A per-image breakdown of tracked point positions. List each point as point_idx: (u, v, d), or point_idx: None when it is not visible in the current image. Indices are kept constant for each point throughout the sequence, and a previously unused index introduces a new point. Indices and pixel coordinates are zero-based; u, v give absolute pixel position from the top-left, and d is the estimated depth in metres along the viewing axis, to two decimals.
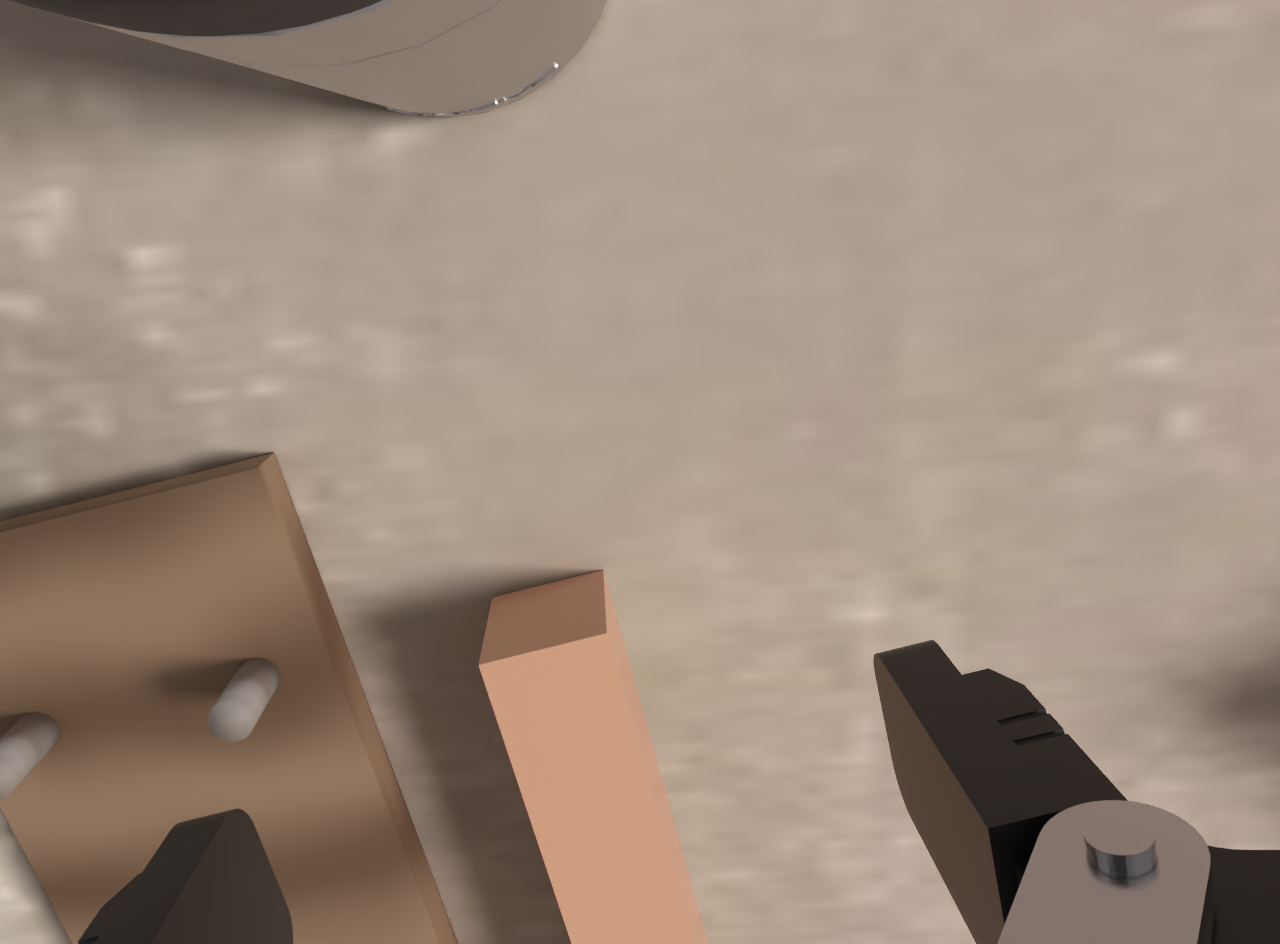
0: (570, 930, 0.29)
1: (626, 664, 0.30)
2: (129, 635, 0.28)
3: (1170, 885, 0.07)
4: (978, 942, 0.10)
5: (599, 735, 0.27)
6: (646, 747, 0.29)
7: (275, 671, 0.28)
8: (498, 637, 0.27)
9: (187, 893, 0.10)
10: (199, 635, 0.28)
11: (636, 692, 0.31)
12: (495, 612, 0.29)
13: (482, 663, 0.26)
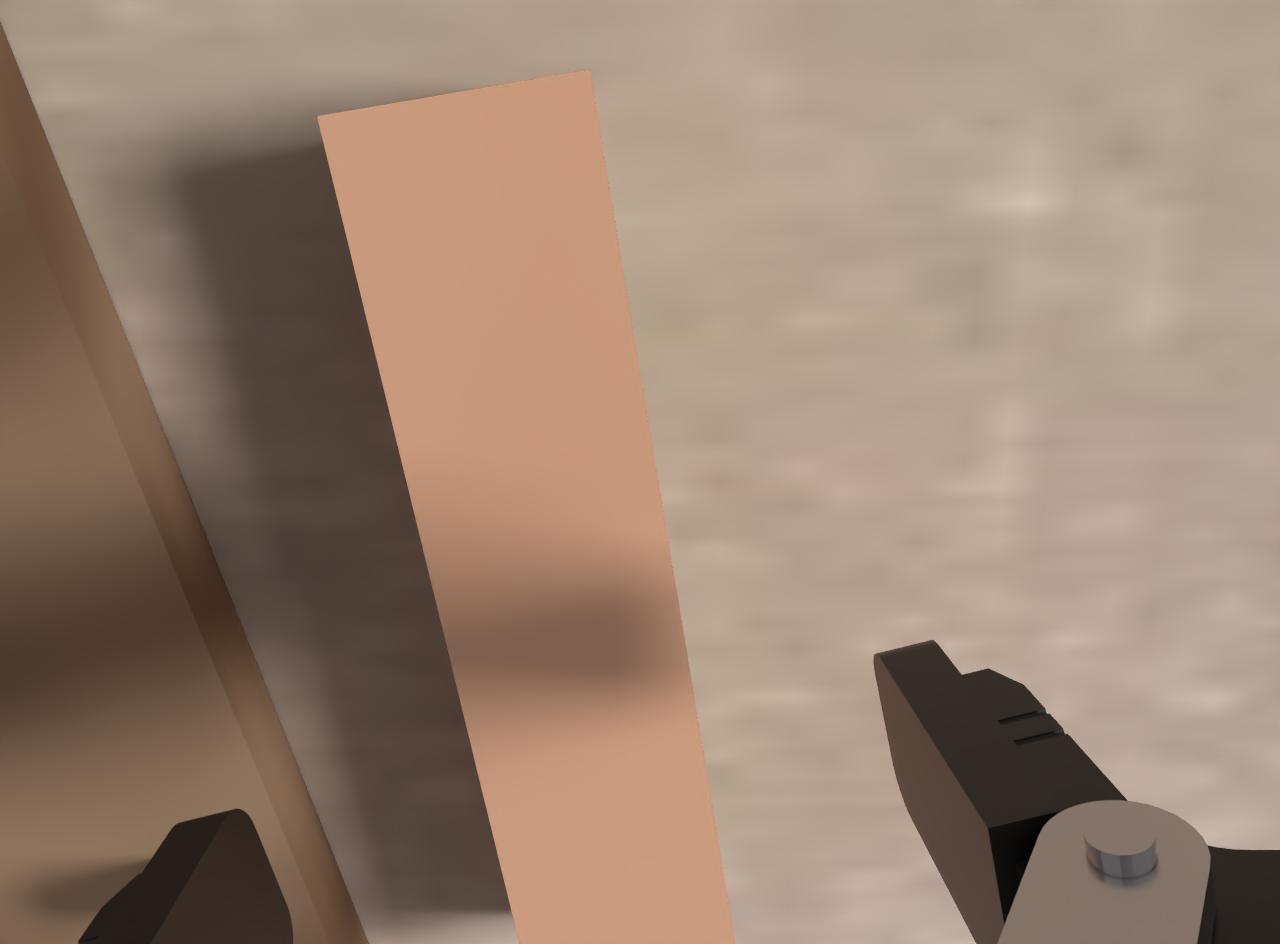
0: (474, 732, 0.15)
1: None
2: None
3: (1170, 885, 0.07)
4: (978, 942, 0.10)
5: (558, 312, 0.13)
6: None
7: None
8: None
9: (187, 893, 0.10)
10: None
11: None
12: None
13: None
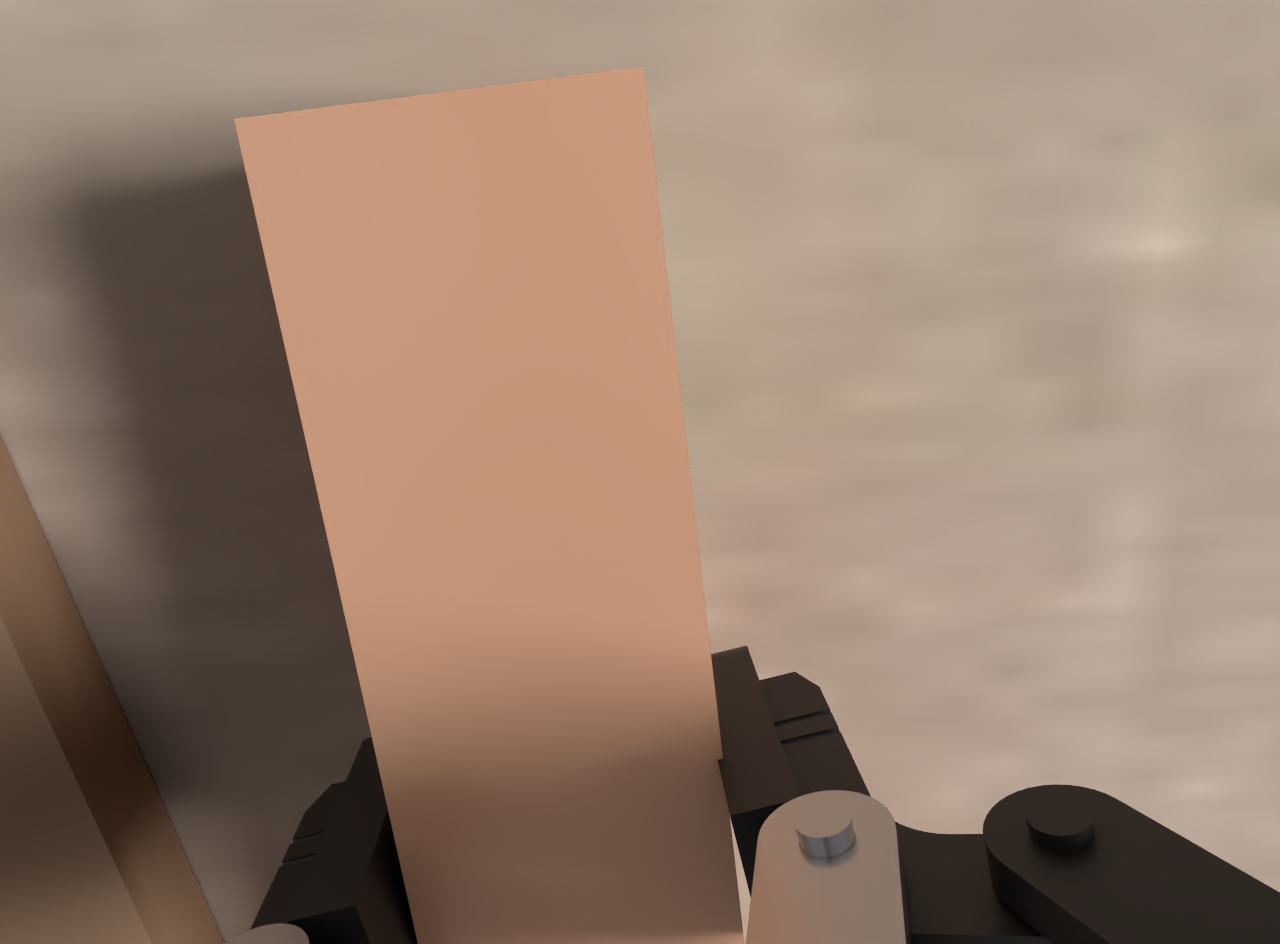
0: None
1: None
2: None
3: (853, 864, 0.08)
4: None
5: (580, 415, 0.09)
6: None
7: None
8: None
9: None
10: None
11: None
12: None
13: (248, 117, 0.08)
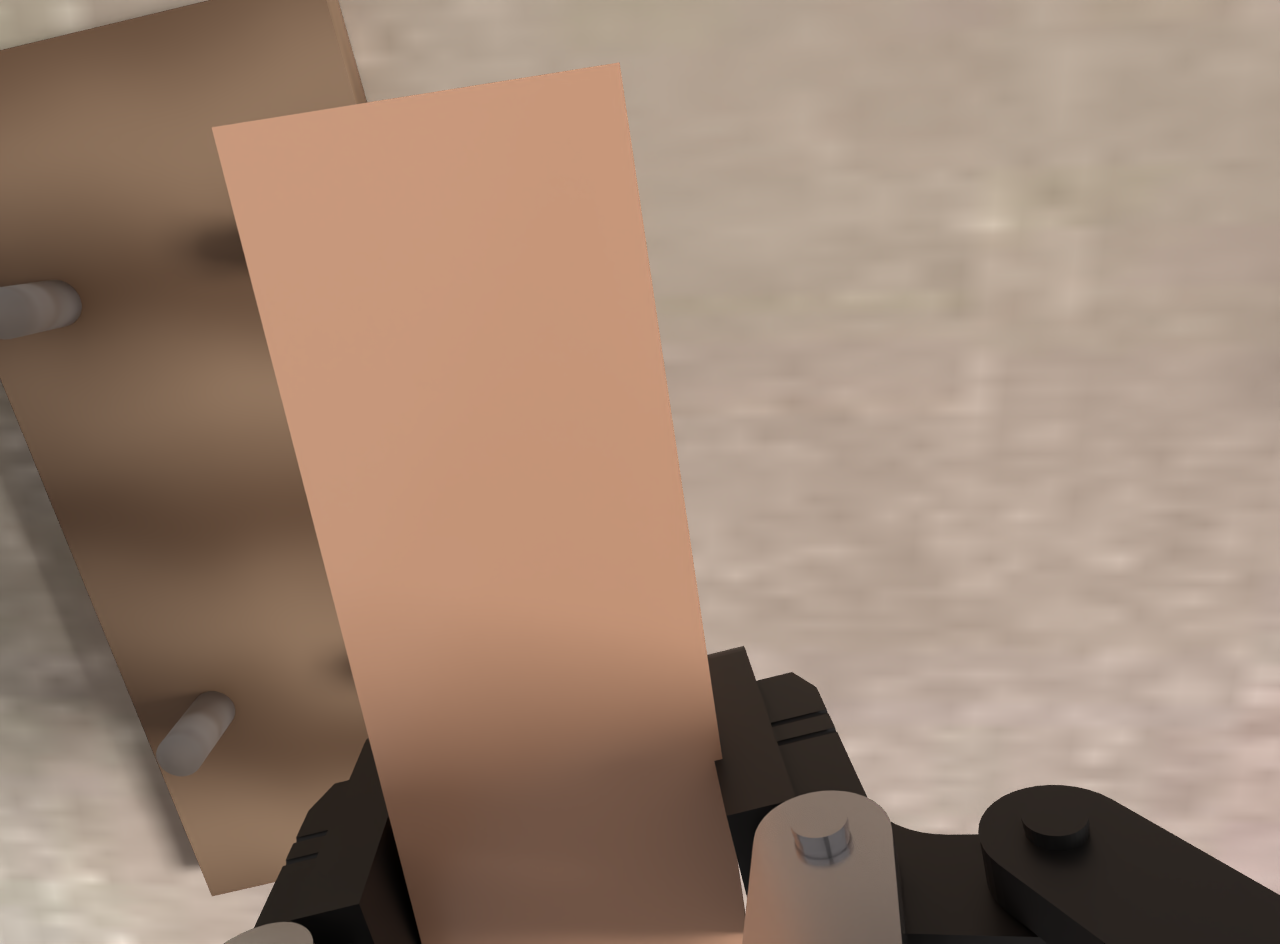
0: None
1: None
2: (164, 185, 0.25)
3: (849, 863, 0.08)
4: None
5: (567, 414, 0.09)
6: None
7: None
8: None
9: None
10: None
11: None
12: None
13: (225, 125, 0.08)
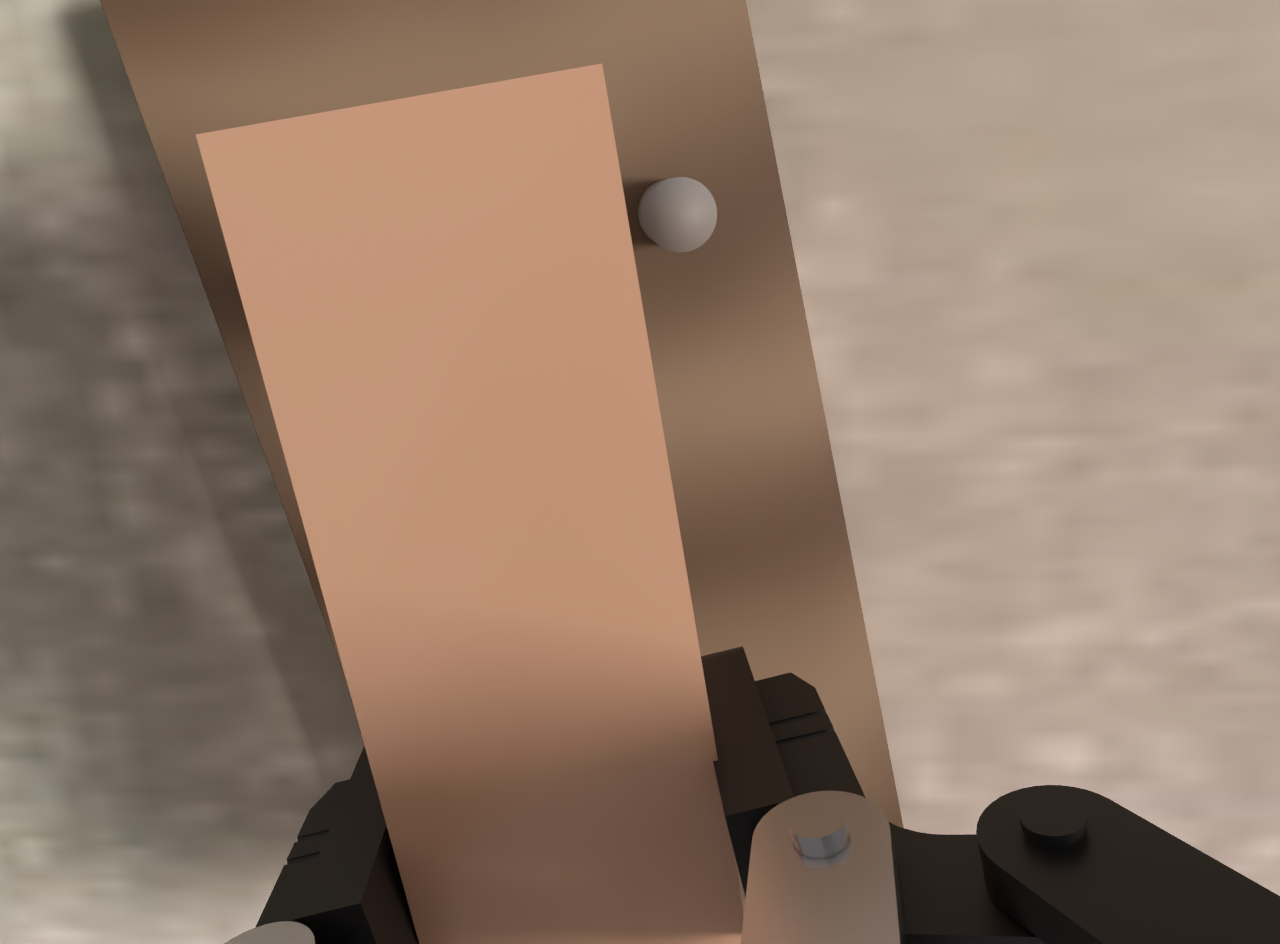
0: None
1: None
2: None
3: (846, 864, 0.08)
4: None
5: (555, 415, 0.09)
6: None
7: None
8: None
9: None
10: None
11: None
12: None
13: (209, 132, 0.08)
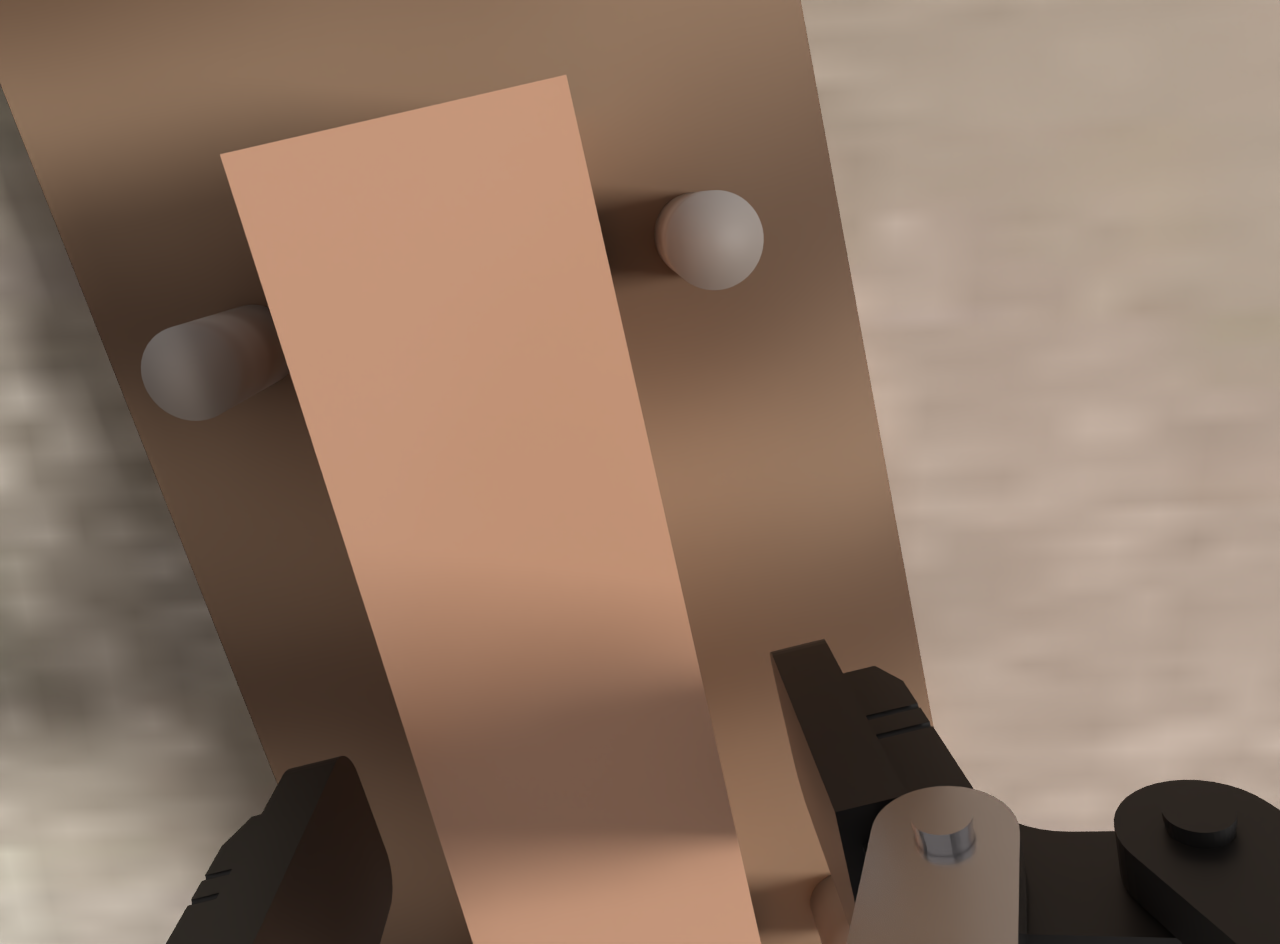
0: (468, 904, 0.12)
1: None
2: None
3: (978, 862, 0.08)
4: (848, 921, 0.10)
5: (543, 384, 0.10)
6: None
7: None
8: None
9: (310, 829, 0.11)
10: (589, 137, 0.14)
11: None
12: None
13: (231, 152, 0.10)
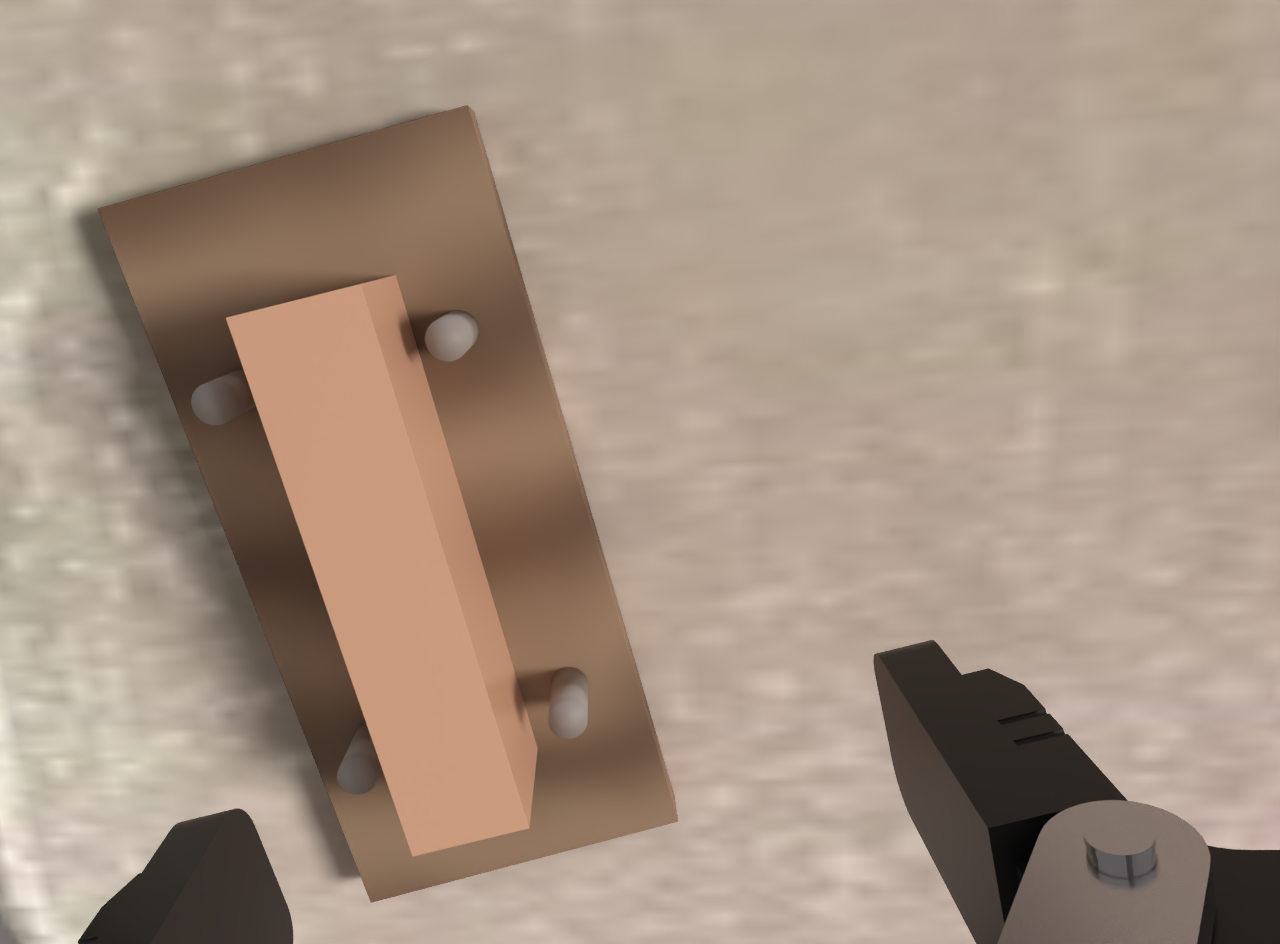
0: (341, 639, 0.27)
1: (414, 370, 0.28)
2: (336, 286, 0.29)
3: (1170, 885, 0.07)
4: (978, 942, 0.10)
5: (359, 405, 0.25)
6: (431, 453, 0.28)
7: (476, 322, 0.29)
8: None
9: (187, 893, 0.10)
10: (403, 285, 0.29)
11: (432, 412, 0.29)
12: None
13: None
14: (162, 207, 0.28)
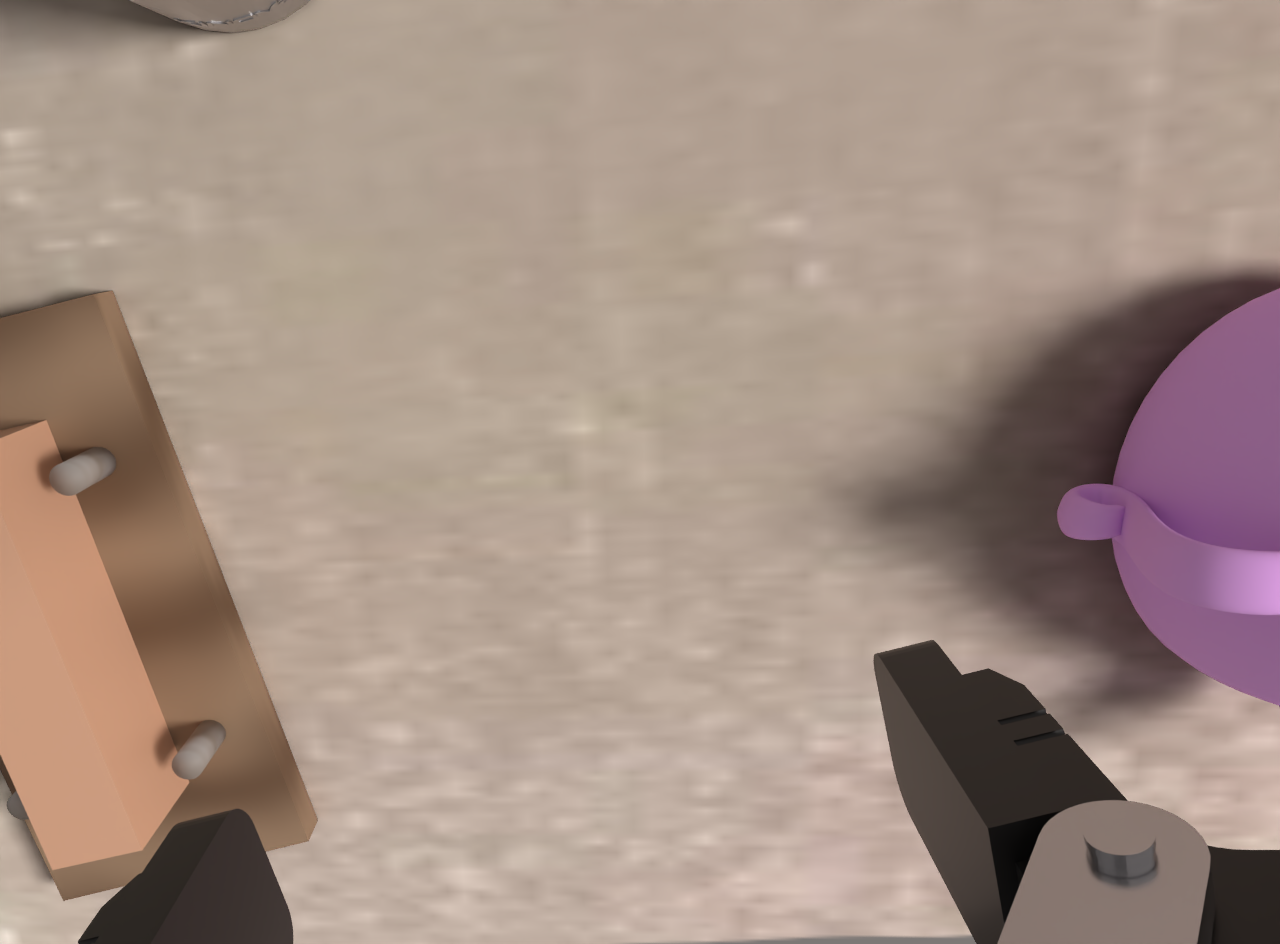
0: None
1: (53, 497, 0.36)
2: None
3: (1170, 884, 0.07)
4: (977, 942, 0.10)
5: None
6: (61, 563, 0.36)
7: (111, 457, 0.37)
8: None
9: (187, 893, 0.10)
10: (53, 428, 0.37)
11: (77, 526, 0.38)
12: None
13: None
14: None
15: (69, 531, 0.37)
